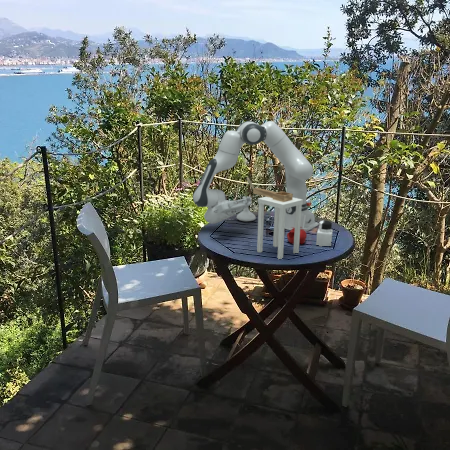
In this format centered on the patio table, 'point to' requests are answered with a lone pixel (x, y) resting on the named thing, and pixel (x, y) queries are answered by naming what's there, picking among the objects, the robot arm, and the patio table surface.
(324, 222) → the medicine bottle
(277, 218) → the tall stand
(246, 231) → the patio table surface
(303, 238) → the pomegranate
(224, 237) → the patio table surface
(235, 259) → the patio table surface
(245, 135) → the robot arm
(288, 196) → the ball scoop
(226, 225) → the patio table surface
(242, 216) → the flower in vase
